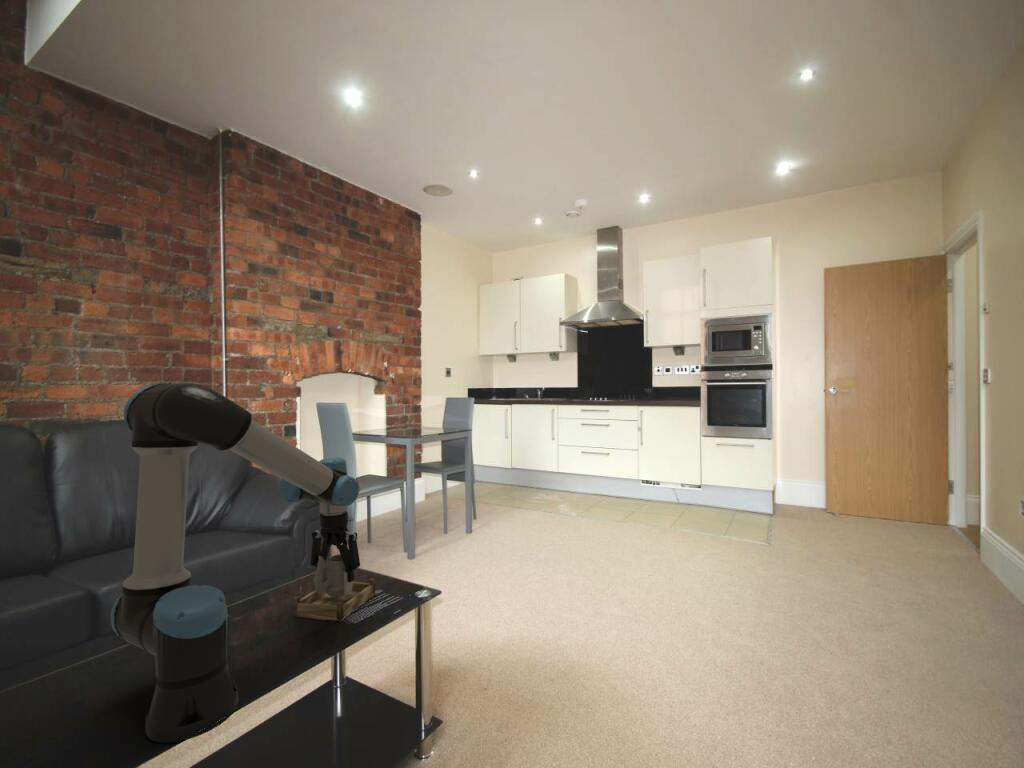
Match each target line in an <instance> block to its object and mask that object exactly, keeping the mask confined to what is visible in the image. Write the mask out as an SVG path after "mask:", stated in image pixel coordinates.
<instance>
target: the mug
mask: <svg viewBox="0 0 1024 768" xmlns="http://www.w3.org/2000/svg"><path fill="white" fill-rule="evenodd" d="M326 567H327V581H326V582H324V583H323V584H322V582H321V574H322V573H323V570H324V568H326ZM344 571H346V568H345V565H344V563H343V560H342V557H341V554H340V553H338V554H334V555H331V556H330V557H327V561H326V562H325V560H324V559H323V558H322V556H319V561H318V565H317V568H316V571H315V574H314V577H313V579H312V581H313V583H314V584H313V587H314V590H316V592H317V593H318V595H321V594H322V593H323V592H324V590H325V589H326V590H327V594H328V595H329V596H343V595H344ZM353 581H354V580H353ZM353 581H352V587H353V585H354V583H353ZM352 589H353V588H352Z"/></svg>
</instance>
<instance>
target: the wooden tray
mask: <svg viewBox="0 0 1024 768" xmlns="http://www.w3.org/2000/svg"><path fill="white" fill-rule="evenodd" d="M353 583H354V585H353V587H352V588H353V589H352V591H351V592H350V593H349V594H347V595H343V596H329V595H328V594H327V590H326V589H325V590H324V592H323V593H322V594H321V595H318V593H317V592H316V590H315V589H314V590H313V591H311V592H310V593H308V594H307V595H305V596H304V597H302V598H301V596H298V595H296V596H295V597H293V598H292V601H293V602H292V603H293V617H295V618H296V617H297V618H305V619H310V620H311V619H314V620H320V621H326V620H335V621H337V620H339V621H341V620H342V619H343V618H344V617H346V616H347V615H348V614H349V613H351V612H352V611H353V610H355V609H356V608H357V607H359V606H360V605H361V604H363V603H364V602H365V601H367V600H368V599H369V598H371V597H372V596H373V595H375V596H376V579H375V578H370V579H369V580H368V582H364V581H363V582H362V581H354V580H353ZM371 599H372V598H371Z"/></svg>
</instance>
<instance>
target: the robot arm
mask: <svg viewBox="0 0 1024 768" xmlns="http://www.w3.org/2000/svg"><path fill="white" fill-rule="evenodd" d="M253 418H254V417H253V414H252V413H251V412H250V411H248V410H247V409H245V408H244V407H242V406H241V405H239V404H237V403H236V402H234V401H233V400H231V399H229V398H228V397H226V396H224V395H223V394H222V393H219V392H218V391H216V390H214V389H212V388H210V387H208V386H207V385H202V384H198V383H191V382H186V383H156V384H152V385H149V386H144V387H142V388H141V389H139V390H138V391H136V392H135V393H134V394H132V395H131V396H130V398H129V399H128V401H126V404H125V406H124V410H123V420H124V423H125V426H126V427H127V428H128V429H129V430H130V432H132V433H131V449H132V450H133V451H134V452H135V453H137V455H139V470H138V485H137V504H136V505H137V507H136V517H135V518H136V520H135V536H134V537H135V538H134V550H133V552H134V553H133V569H132V574H130V576H128V577H127V578H126V579H125V580H124V581H123V583H122V592H121V594H120V596H119V597H117V598H116V600H115V601H114V603H113V606H112V608H111V612H110V623H111V627H112V629H113V631H114V633H115V634H117V636H118V637H119V638H120V639H121V640H122V641H123V642H125V643H128V644H129V645H131V646H135V647H137V648H140V649H141V650H143V651H145V652H147V653H148V654H150V655H153V656H154V659H155V660H154V661H155V689H154V693H153V696H152V699H151V702H150V703H151V704H150V707H149V710H148V711H147V713H146V716H145V722H144V723H145V735H146V737H147V738H148V739H149V740H150V741H153V742H155V743H162V744H168V743H169V744H172V743H179V742H183V741H182V740H184V741H187V740H190V739H193V738H196V737H199V736H201V735H204V734H206V733H208V732H210V731H212V730H213V729H216V728H217V727H219V726H220V725H221V724H223V723H225V721H226V722H227V720H229V718H230V717H231V716H232V715H233V714H234V713H235V711H236V710H237V708H238V705H239V688H238V687H237V684H236V682H235V679H234V678H233V674H232V672H231V671H230V668H229V666H228V634H227V631H228V630H227V627H228V626H227V616H228V609H227V603H226V597H225V594H224V593H223V591H222V590H221V589H219V588H217V587H215V586H211V585H200V586H199V585H198V584H194V585H191V583H192V579H191V578H192V575H191V574H192V573H191V571H189V569H187V568H185V567H184V557H185V556H184V555H185V537H186V522H187V521H186V519H187V505H188V503H187V502H188V488H189V487H188V485H189V468H190V467H189V466H190V455H191V453H193V452H194V451H195V450H196V449H197V448H198V447H199V443H200V444H204V445H207V446H210V447H213V448H214V449H216V450H218V451H220V452H227V451H231V452H232V453H235V454H237V455H238V456H240V457H242V458H244V459H245V460H247V461H249V462H251V463H253V464H255V465H256V466H258V467H260V468H262V469H264V470H266V471H267V472H269V473H271V474H274V475H275V476H277V477H279V478H280V479H279V482H278V485H277V487H278V495H279V497H280V499H281V500H282V501H283V502H285V503H287V504H290V503H299V502H301V501H306V502H313V503H319V512H320V514H319V523H320V524H319V526H320V527H321V529H317V530H315V531H312V532H311V537H312V545H311V555H310V566H312V567H313V566H314V567H315V568H316V569H317V565H318V561H319V556H322V558H323V559H324V560H325V563H327V560H328V556H329V553H330V550H331V547H332V546H334V547H336V548H337V549H336V550H338V552H339V554H341V557H342V560H343V563H344V565H345V568H346V571H344V595H347V594H349V593H350V592H351V591H352V581H354V580H355V570H357V569H358V568H359V567H361V561H360V553H359V547H358V542H357V539H358V533H357V532H354V533H353V532H350V531H349V529H348V524H349V516H348V515H349V514H348V509H349V508H348V507H349V506H350V505H353V504H354V502H356V500H357V498H358V496H359V494H360V484H359V482H358V480H357V479H356V478H355V477H353V476H349V475H348V468H347V467H348V465H347V461H346V459H345V458H343V457H325V458H322V459H320V460H317V459H316V458H314V457H312V456H311V455H310V454H307V453H306V452H305V451H303V450H301V449H299V448H298V447H296V446H295V445H293V444H292V443H290V442H288V441H287V440H285V439H283V438H282V437H280V436H279V435H278V434H276V433H274V432H273V431H272V430H269V429H268V428H266V427H265V426H263V425H261V424H260V423H258V422H256V421H255V420H254V419H253ZM322 539H323V541H322ZM326 581H327V567H326V568H324V570H323V573H322V574H321V582H322V584H323V583H324V582H326ZM224 717H225V718H224ZM222 718H223V719H222ZM220 719H221V720H220ZM219 720H220V721H219ZM217 721H218V722H217ZM204 728H205V729H204ZM202 729H203V730H202ZM200 730H201V731H200ZM198 731H200V732H198ZM195 733H196V734H195ZM186 738H187V739H186Z"/></svg>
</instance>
